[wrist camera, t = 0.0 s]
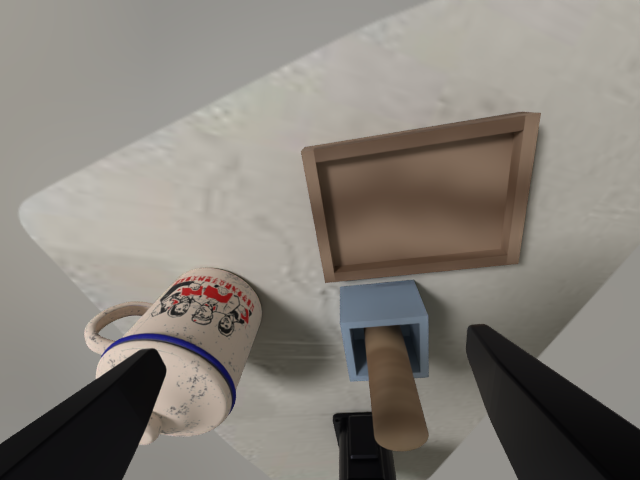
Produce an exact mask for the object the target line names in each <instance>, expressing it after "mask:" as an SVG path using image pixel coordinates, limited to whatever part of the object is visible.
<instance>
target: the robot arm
mask: <svg viewBox="0 0 640 480" xmlns="http://www.w3.org/2000/svg"><path fill="white" fill-rule="evenodd" d="M466 353H467V357H468V360H469V363H470V365H471V368H472V371H473V374H474V377H475V380H476V382H477V385H478V388H479V391H480V394H481V397H482V399H483V402H484V405H485V408H486V410H487V413H488V416H489V418H490V420H491V423H492V425H493V427H494V429H495V431H496V433H497V436H498V438H499V440H500V442H501V444H502V446H503V448H504V450H505V453H506V454H507V456H508V459H509V461H510V463H511V465H512V467H513V469H514V471H515V474H516V476H517V478H518V480H640V429H639V428H637V427H636V426H634V425H632V424H631V423H630V422H628V421H627V420H625V419H624V418H623V417H621V416H620V415H618V414H617V413H615V412H614V411H612V410H611V409H609V408H608V407H606V406H604V405H603V404H602V403H601V402H599V401H597V400H596V399H595V398H593V397H592V396H590V395H589V394H587V393H586V392H584V391H583V390H581V389H580V388H578V387H577V386H576V385H574V384H573V383H571V382H569V381H568V380H567V379H565V378H564V377H562V376H561V375H560V374H558V373H557V372H555V371H554V370H552V369H551V368H549V367H548V366H546V365H545V364H543V363H542V362H540V361H539V360H538V359H536V358H535V357H533V356H532V355H530V354H529V353H527V352H526V351H524V350H523V349H521V348H520V347H518V346H517V345H516V344H514V343H513V342H511V341H510V340H508V339H507V338H505V337H504V336H502V335H501V334H499V333H498V332H496V331H495V330H494V329H492V328H491V327H489V326H488V325H485V324H477V325H470V326H468V329H467V341H466ZM166 372H167V369H166V365H165V363H164V362H163V360H162V358H161V356H160V354H159V352H158V351H157V350H156V349H155V348H146V349H141V350H139V351H137V352H136V353H134V354H133V355H131V356H130V357H128V358H127V359H125V360H124V361H122V362H121V363H119V364H118V365H116V366H115V367H113V368H112V369H110V370H109V371H107V372H106V373H104V374H103V375H102V376H100V377H99V378H97V379H96V380H94V381H93V382H91V383H90V384H88V385H87V386H85V387H84V388H82V389H81V390H80V391H78V392H76V393H75V394H74V395H72V396H71V397H69V398H68V399H66V400H65V401H63V402H62V403H60V404H59V405H57V406H56V407H54V408H53V409H51V410H50V411H48V412H47V413H45V414H44V415H43V416H41V417H39V418H38V419H36V420H35V421H34V422H32V423H31V424H29V425H28V426H26V427H25V428H23V429H22V430H20V431H19V432H17V433H16V434H14V435H13V436H11V437H10V438H8V439H7V440H5V441H4V442H2V443H1V444H0V480H122V479H123V477H124V475H125V473H126V470H127V468H128V466H129V464H130V462H131V460H132V458H133V456H134V454H135V451H136V449H137V447H138V445H139V443H140V441H141V439H142V436H143V434H144V432H145V430H146V427H147V425H148V422H149V420H150V417H151V414H152V412H153V409H154V406H155V403H156V401H157V398H158V395H159V393H160V390H161V387H162V385H163V382H164V379H165V376H166ZM333 424H334V428H335V433H336V437H337V441H338V446H339V480H396V474H395V467H394V460H393V453H392V451H393V450H389V449H386V448H384V447H382V446H381V445H379V444H378V443H377V442H376V440H375V437H374V428H373V417H372V413H353V414H335V415H333Z"/></svg>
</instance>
